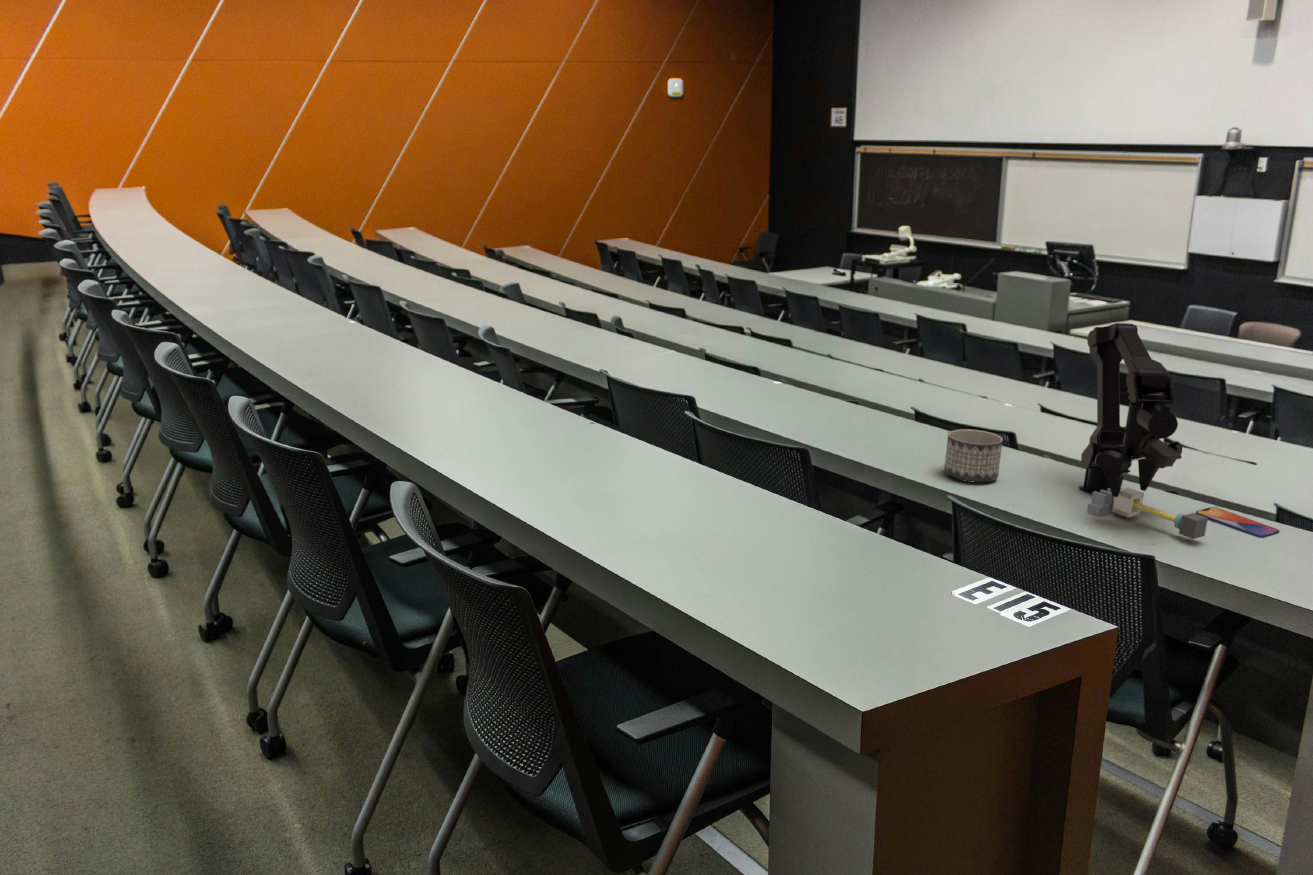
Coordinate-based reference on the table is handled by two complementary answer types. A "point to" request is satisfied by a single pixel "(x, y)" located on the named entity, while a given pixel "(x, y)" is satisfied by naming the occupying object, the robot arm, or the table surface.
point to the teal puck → (1178, 521)
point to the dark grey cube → (1193, 525)
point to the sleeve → (1127, 502)
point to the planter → (973, 455)
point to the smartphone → (1237, 522)
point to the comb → (1101, 503)
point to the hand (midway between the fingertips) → (1129, 493)
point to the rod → (1154, 511)
